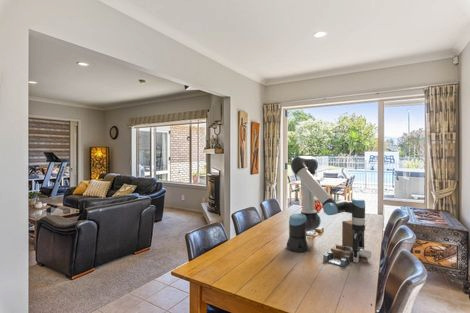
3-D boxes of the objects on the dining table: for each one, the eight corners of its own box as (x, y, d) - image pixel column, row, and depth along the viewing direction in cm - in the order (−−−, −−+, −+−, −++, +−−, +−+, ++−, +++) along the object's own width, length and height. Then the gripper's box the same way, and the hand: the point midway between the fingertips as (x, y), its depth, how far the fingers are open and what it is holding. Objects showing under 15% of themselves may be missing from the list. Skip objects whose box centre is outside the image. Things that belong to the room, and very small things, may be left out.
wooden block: (351, 255, 173) (352, 224, 173) (341, 249, 183) (342, 220, 183) (364, 253, 176) (364, 223, 176) (354, 248, 185) (354, 219, 185)
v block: (323, 261, 163) (323, 254, 163) (328, 257, 169) (328, 250, 169) (344, 267, 154) (344, 260, 154) (349, 262, 161) (350, 256, 161)
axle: (344, 253, 168) (345, 245, 169) (347, 253, 172) (347, 245, 173) (368, 259, 159) (369, 251, 160) (370, 259, 162) (371, 250, 163)
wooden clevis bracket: (330, 256, 171) (330, 248, 171) (337, 251, 179) (337, 244, 179) (365, 265, 157) (365, 256, 157) (370, 259, 165) (370, 251, 165)
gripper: (359, 228, 154) (359, 267, 154) (369, 221, 170) (369, 256, 171) (346, 226, 159) (346, 263, 159) (357, 219, 175) (357, 253, 175)
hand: (358, 259), depth 165 cm, fingers open, 9 cm apart
